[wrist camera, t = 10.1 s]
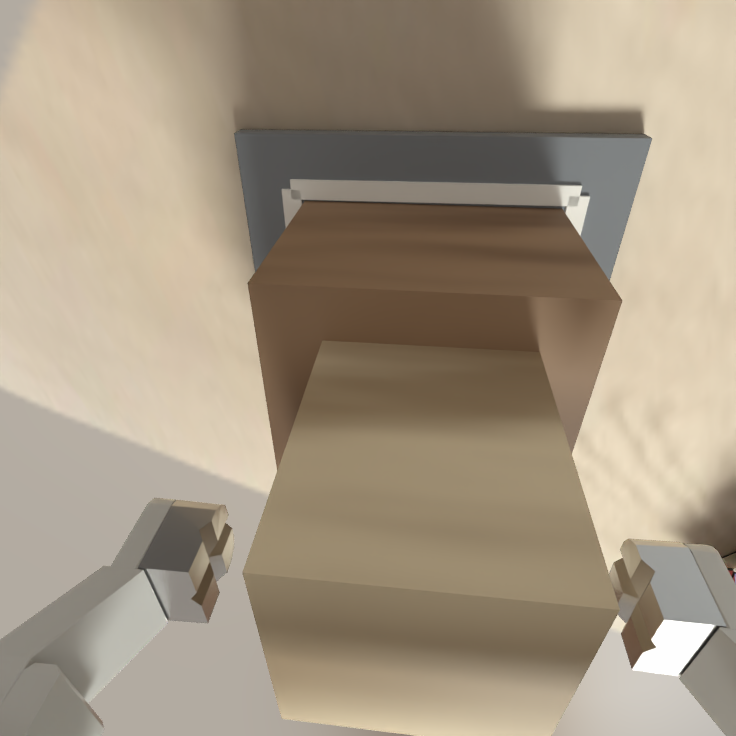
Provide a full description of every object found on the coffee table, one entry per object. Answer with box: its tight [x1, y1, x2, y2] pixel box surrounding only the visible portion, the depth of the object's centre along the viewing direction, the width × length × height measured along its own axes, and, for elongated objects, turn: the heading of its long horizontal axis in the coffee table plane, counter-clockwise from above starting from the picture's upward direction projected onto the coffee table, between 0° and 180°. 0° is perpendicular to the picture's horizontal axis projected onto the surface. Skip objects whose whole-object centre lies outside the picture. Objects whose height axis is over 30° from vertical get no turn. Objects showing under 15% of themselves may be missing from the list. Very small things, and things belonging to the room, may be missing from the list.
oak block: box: [243, 341, 620, 736], centre depth 10 cm, size 5×5×6 cm
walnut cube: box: [248, 201, 622, 471], centre depth 15 cm, size 8×8×6 cm
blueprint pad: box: [234, 129, 652, 281], centre depth 18 cm, size 12×12×1 cm
